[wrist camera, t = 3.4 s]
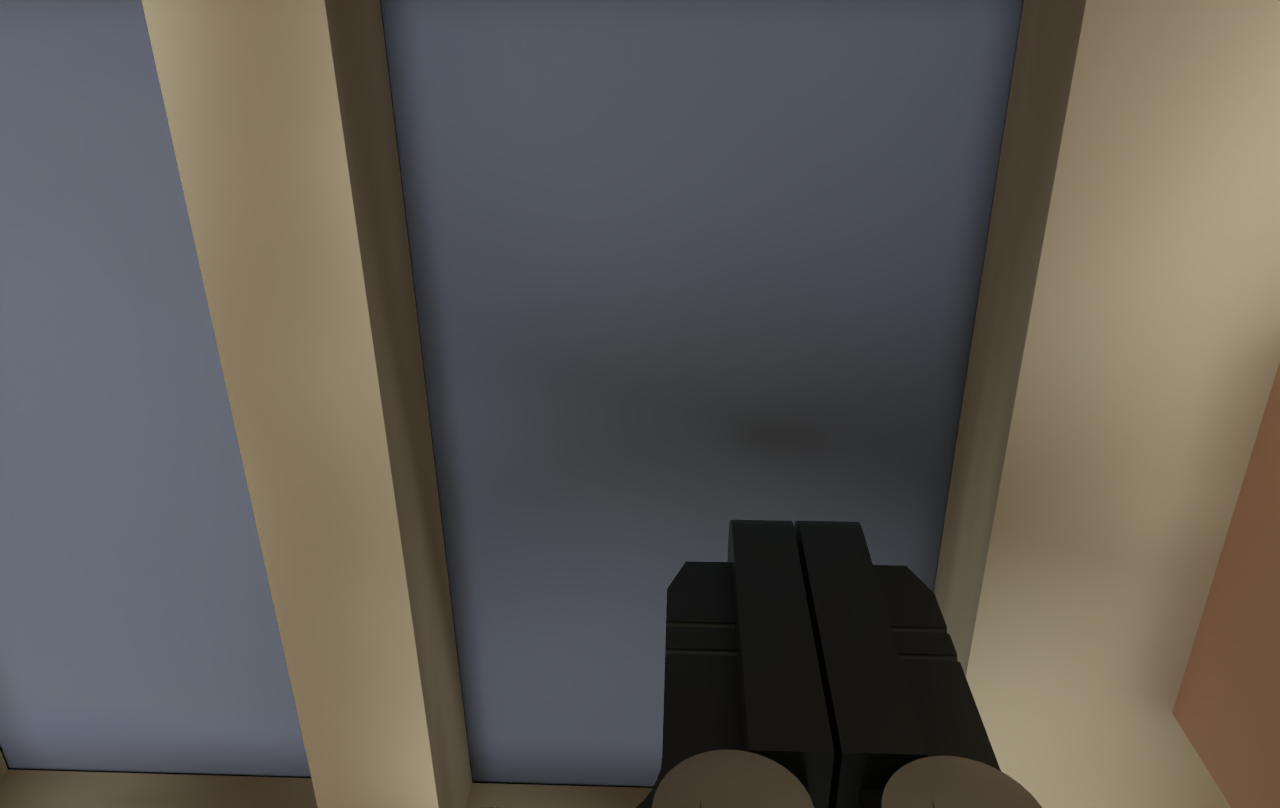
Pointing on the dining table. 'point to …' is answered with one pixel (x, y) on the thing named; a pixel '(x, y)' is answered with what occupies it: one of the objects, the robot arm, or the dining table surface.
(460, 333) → the dining table surface
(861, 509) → the dining table surface
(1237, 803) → the block
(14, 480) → the dining table surface
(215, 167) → the trap lane
